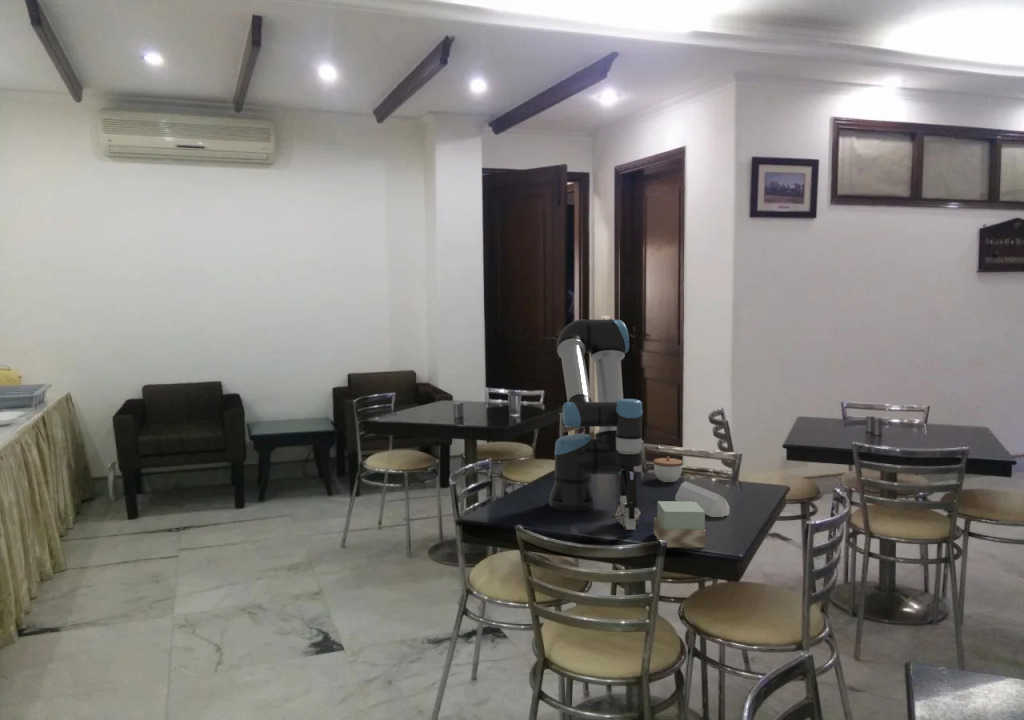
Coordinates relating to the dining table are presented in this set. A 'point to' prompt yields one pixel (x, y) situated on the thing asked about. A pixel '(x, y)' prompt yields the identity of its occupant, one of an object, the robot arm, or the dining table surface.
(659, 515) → the tower top block
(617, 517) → the game die
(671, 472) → the lidded jar
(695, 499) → the chamfered grey bar
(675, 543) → the tower base block
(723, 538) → the dining table surface
